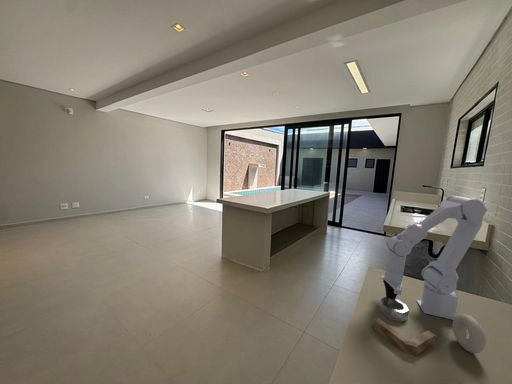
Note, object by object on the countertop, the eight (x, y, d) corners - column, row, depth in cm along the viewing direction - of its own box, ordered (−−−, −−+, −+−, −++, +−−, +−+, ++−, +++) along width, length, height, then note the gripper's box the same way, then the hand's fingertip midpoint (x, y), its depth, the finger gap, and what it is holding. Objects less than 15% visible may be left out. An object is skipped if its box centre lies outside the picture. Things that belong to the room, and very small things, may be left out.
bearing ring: (402, 308, 81) (403, 300, 80) (409, 324, 73) (411, 315, 73) (378, 303, 84) (379, 295, 83) (382, 317, 76) (383, 308, 75)
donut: (485, 363, 59) (493, 332, 58) (471, 361, 60) (478, 329, 59) (459, 335, 69) (465, 307, 68) (447, 333, 70) (452, 305, 68)
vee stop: (431, 340, 67) (433, 331, 66) (445, 365, 58) (447, 355, 58) (371, 324, 72) (372, 316, 72) (376, 345, 64) (378, 336, 64)
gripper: (379, 258, 89) (374, 288, 91) (387, 275, 76) (382, 309, 78) (398, 261, 87) (393, 292, 89) (410, 279, 73) (404, 315, 75)
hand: (389, 300), depth 83 cm, fingers closed
